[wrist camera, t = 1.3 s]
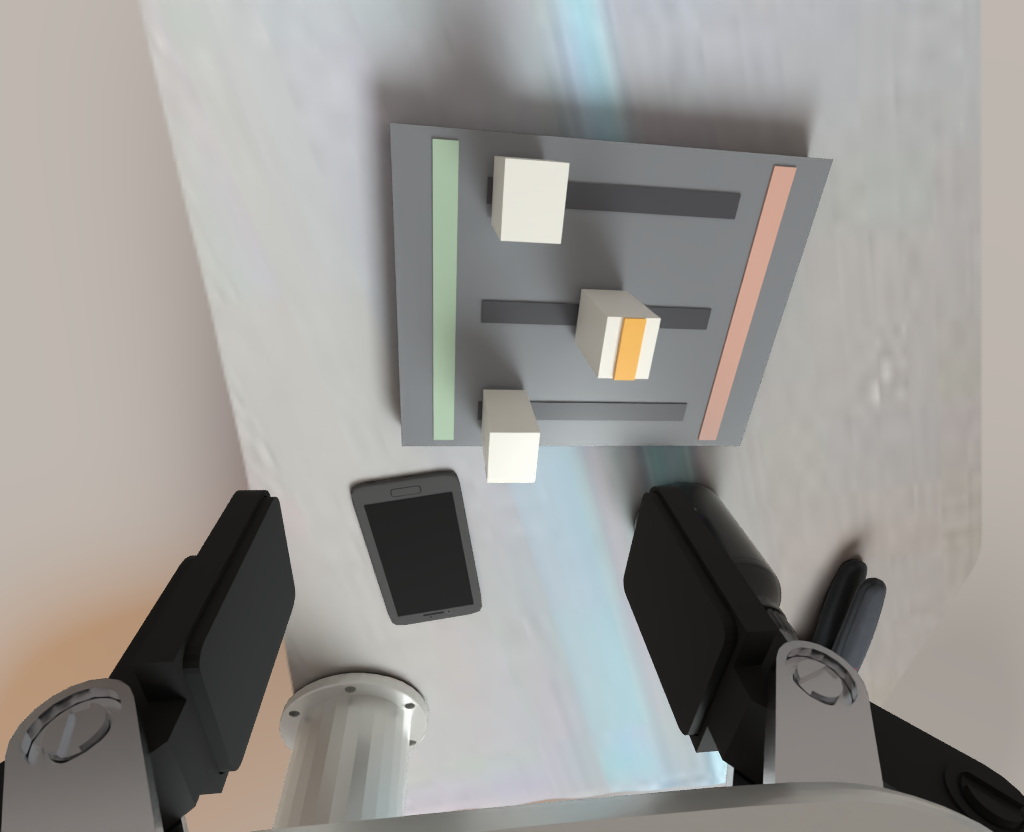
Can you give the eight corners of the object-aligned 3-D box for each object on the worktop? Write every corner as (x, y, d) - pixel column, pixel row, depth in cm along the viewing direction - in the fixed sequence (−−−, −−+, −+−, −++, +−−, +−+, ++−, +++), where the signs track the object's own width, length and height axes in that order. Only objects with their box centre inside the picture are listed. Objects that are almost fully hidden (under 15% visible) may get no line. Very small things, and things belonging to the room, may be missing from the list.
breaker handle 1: (540, 226, 25) (560, 243, 21) (491, 223, 25) (500, 240, 21) (546, 159, 24) (569, 162, 20) (494, 156, 24) (505, 158, 19)
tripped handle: (617, 343, 29) (649, 380, 24) (574, 342, 28) (599, 379, 24) (626, 290, 27) (662, 320, 23) (581, 288, 27) (609, 318, 22)
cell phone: (457, 465, 35) (457, 471, 34) (483, 605, 41) (483, 613, 41) (349, 481, 34) (347, 488, 34) (393, 620, 41) (392, 628, 40)
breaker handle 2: (521, 434, 31) (534, 482, 26) (481, 434, 31) (487, 482, 26) (526, 390, 29) (540, 432, 25) (483, 389, 29) (489, 432, 25)
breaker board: (725, 431, 35) (740, 446, 33) (404, 429, 32) (401, 446, 31) (808, 158, 27) (834, 159, 26) (393, 124, 24) (389, 122, 23)
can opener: (806, 684, 52) (845, 741, 47) (745, 686, 51) (777, 744, 46) (889, 553, 44) (946, 605, 39) (819, 552, 43) (867, 605, 38)
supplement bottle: (649, 473, 36) (732, 606, 26) (732, 485, 38) (843, 616, 27) (618, 545, 39) (681, 691, 29) (696, 554, 41) (783, 696, 30)
